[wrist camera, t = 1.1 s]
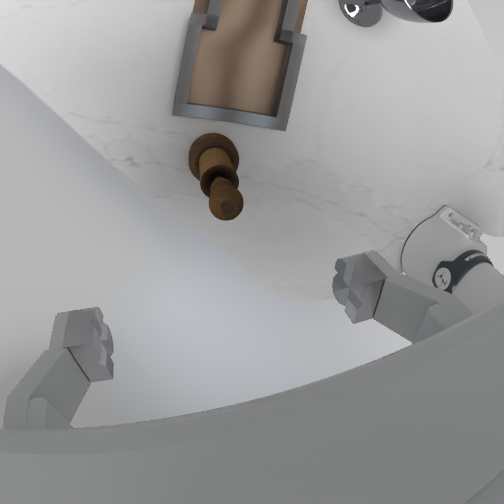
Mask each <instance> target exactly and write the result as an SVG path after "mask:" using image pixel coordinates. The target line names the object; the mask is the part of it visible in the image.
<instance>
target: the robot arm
mask: <svg viewBox="0 0 504 504" xmlns="http://www.w3.org/2000/svg"><path fill="white" fill-rule="evenodd" d="M481 235H482V233H481V229H480V228H479V227H478V226H477V225H476V224H474V223H473V222H471V221H470V220H468V219H467V218H465V217H464V216H462V215H461V214H459V213H458V212H456V211H455V210H453V209H452V208H450V207H449V206H444V207H442V208H441V209H440V210H439V211H438V212H437V214H436V215H434V216H433V217H431V218H429V219H427V220H426V221H424V222H423V223H421V224H420V225H419V226H418V227H417V228H416V229H415V230H414V231H413V233H412V234H411V235H410V237H409V239H408V240H407V242H406V244H405V247H404V250H403V253H402V268H403V271H404V272H405V274H406V275H407V276H406V275H404V274H402V275H399V274H398V273H397V272H396V271H395V270H394V269H393V268H392V267H391V266H390V265H389V264H388V263H387V261H386V260H385V259H384V258H383V257H382V256H381V255H380V254H379V253H378V252H377V251H374V250H372V251H368V252H364V253H361V254H357V255H352V256H348V257H344V258H339V259H337V261H336V264H335V269H336V271H337V272H338V273H337V274H336V275H335V277H334V278H333V284H332V287H333V293H334V295H335V298H336V299H337V301H338V302H339V303H340V304H342V305H344V306H346V307H345V312H346V314H347V315H348V317H349V318H350V319H351V321H352V322H353V324H355V323H358V322H361V321H365V320H368V319H371V318H373V319H374V320H376V321H378V322H379V323H381V324H382V325H384V326H386V327H388V328H389V329H391V330H393V331H394V332H396V333H397V334H399V335H401V336H402V337H404V338H406V339H407V340H409V341H411V342H412V345H410V346H408V347H406V348H403V349H401V350H399V351H396V352H394V353H392V354H389V355H387V356H384V357H382V358H379V359H377V360H375V361H372V362H369V363H367V364H364V365H362V366H359V367H356V368H353V369H351V370H348V371H345V372H343V373H340V374H337V375H334V376H331V377H328V378H325V379H322V380H319V381H316V382H313V383H310V384H307V385H303V386H300V387H297V388H294V389H290V390H287V391H284V392H280V393H277V394H273V395H270V396H266V397H262V398H258V399H254V400H251V401H247V402H243V403H238V404H235V405H230V406H225V407H221V408H217V409H212V410H207V411H202V412H197V413H192V414H186V415H181V416H175V417H169V418H163V419H156V420H150V421H143V422H135V423H127V424H118V425H109V426H98V427H85V428H73V427H72V426H71V425H70V422H71V420H72V418H73V416H74V414H75V412H76V411H77V409H78V407H79V405H80V403H81V401H82V399H83V397H84V396H85V394H86V392H87V389H88V388H89V386H90V384H91V382H97V381H103V380H110V379H113V361H112V359H111V357H110V356H111V355H112V353H113V341H112V335H111V332H110V329H109V327H108V325H107V324H105V323H104V322H103V314H102V312H101V310H100V308H98V307H94V308H87V309H80V310H73V311H68V312H62V313H58V314H57V315H56V317H55V321H54V326H53V330H52V335H51V340H50V346H49V350H45V351H44V352H43V354H42V355H41V356H40V357H39V358H38V360H37V361H36V362H35V363H34V365H33V366H32V367H31V368H30V369H29V371H28V372H27V373H26V374H25V376H24V377H23V378H22V379H21V381H20V382H19V383H18V384H17V386H16V387H15V388H14V390H13V391H12V392H11V393H10V395H9V396H8V397H7V402H6V408H5V414H4V422H3V429H0V504H504V276H503V275H502V274H501V273H500V272H499V271H498V270H497V269H495V268H494V267H493V265H492V263H491V261H490V259H489V258H488V257H487V256H486V255H487V247H486V245H485V244H484V243H483V242H482V241H480V240H479V239H480V236H481Z"/></svg>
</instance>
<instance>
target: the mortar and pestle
mask: <svg viewBox="0 0 504 504" xmlns="http://www.w3.org/2000/svg"><path fill="white" fill-rule="evenodd" d="M238 165H239V155H238V152H237V150H236V148H235V146H234V144H233V143H232V142H231V141H230V140H229V139H228V138H227V137H225V136H223V135H220V134H215V133H211V134H206V135H203V136H201V137H199V138H198V139H197V140H196V141H195V142H194V143H193V145H192V146H191V148H190V152H189V166H190V170H191V172H192V174H193V175H194V176H195V177H196V178H197V179H198V180H199V181H200V186H201V189H202V191H203V193H204V194H205V195H206V196H207V197H209V208H210V211H211V212H212V214H213V215H214V216H215V217H216V218H218V219H220V220H232V219H234V218H236V217H237V216H238V215H239V214H240V213H241V211H242V208H243V197H242V195H241V193H240V192H239V191H238V190H237V189H238V185H239V179H238V176H237V174H236V171H237V168H238Z"/></svg>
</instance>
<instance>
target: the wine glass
mask: <svg viewBox="0 0 504 504" xmlns="http://www.w3.org/2000/svg"><path fill="white" fill-rule="evenodd" d="M339 4H340V8H341V10H342V12H343V14H344V15H345V16H346V18H347V19H349V20H350V21H351V22H352V23H354V24H356V25H359V26H362V27H370V26H373V25H375V24H377V23H378V22H379V20H380V19H381V16H382V6H383V7H384V8H385V9H386V11H388V12H389V13H390V14H391V15H393V16H395V17H397V18H399V19H402V20H406V21H410V22H418V23H435V22H442V21H444V20H446V19H447V18H448V17H449V16H450V14H451V12H452V9H453V0H339Z"/></svg>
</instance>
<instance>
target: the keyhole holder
mask: <svg viewBox="0 0 504 504" xmlns="http://www.w3.org/2000/svg"><path fill="white" fill-rule="evenodd" d="M307 1H308V0H196V1H195V5H194V9H193V13H192V14H191V18H190V23H189V27H188V32H187V37H186V41H185V46H184V51H183V56H182V62H181V67H180V73H179V78H178V84H177V90H176V96H175V102H174V109H173V115H177V116H187V117H196V118H205V119H212V120H220V121H227V122H234V123H241V124H247V125H253V126H259V127H265V128H270V129H276V130H281V131H286V127H287V123H288V118H289V114H290V110H291V105H292V101H293V96H294V92H295V87H296V83H297V78H298V74H299V70H300V65H301V61H302V56H303V52H304V47H305V43H306V38H307V35H304V34H300V33H301V28H302V24H303V19H304V15H305V10H306V6H307Z"/></svg>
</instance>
